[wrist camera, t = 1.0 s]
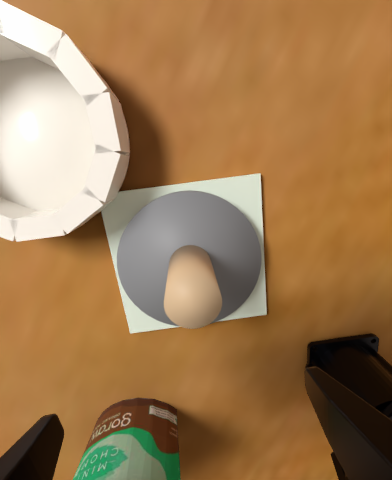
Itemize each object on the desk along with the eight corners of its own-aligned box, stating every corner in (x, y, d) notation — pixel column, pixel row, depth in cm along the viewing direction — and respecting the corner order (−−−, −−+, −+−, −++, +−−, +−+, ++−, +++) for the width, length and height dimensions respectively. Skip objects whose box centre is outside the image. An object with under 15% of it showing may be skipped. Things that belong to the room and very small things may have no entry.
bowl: (108, 27, 15) (88, -12, 12) (144, 215, 19) (135, 225, 15) (-86, 50, 15) (-161, 17, 12) (-14, 236, 19) (-56, 251, 15)
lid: (254, 181, 18) (291, 189, 12) (260, 310, 21) (293, 369, 15) (105, 200, 18) (64, 218, 12) (134, 327, 21) (114, 394, 15)
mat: (258, 173, 18) (260, 173, 18) (265, 312, 22) (266, 314, 21) (98, 194, 18) (97, 194, 18) (131, 330, 22) (130, 333, 21)
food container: (142, 365, 23) (114, 509, 13) (187, 401, 24) (190, 553, 15) (56, 435, 25) (-24, 605, 15) (102, 464, 26) (56, 635, 17)
